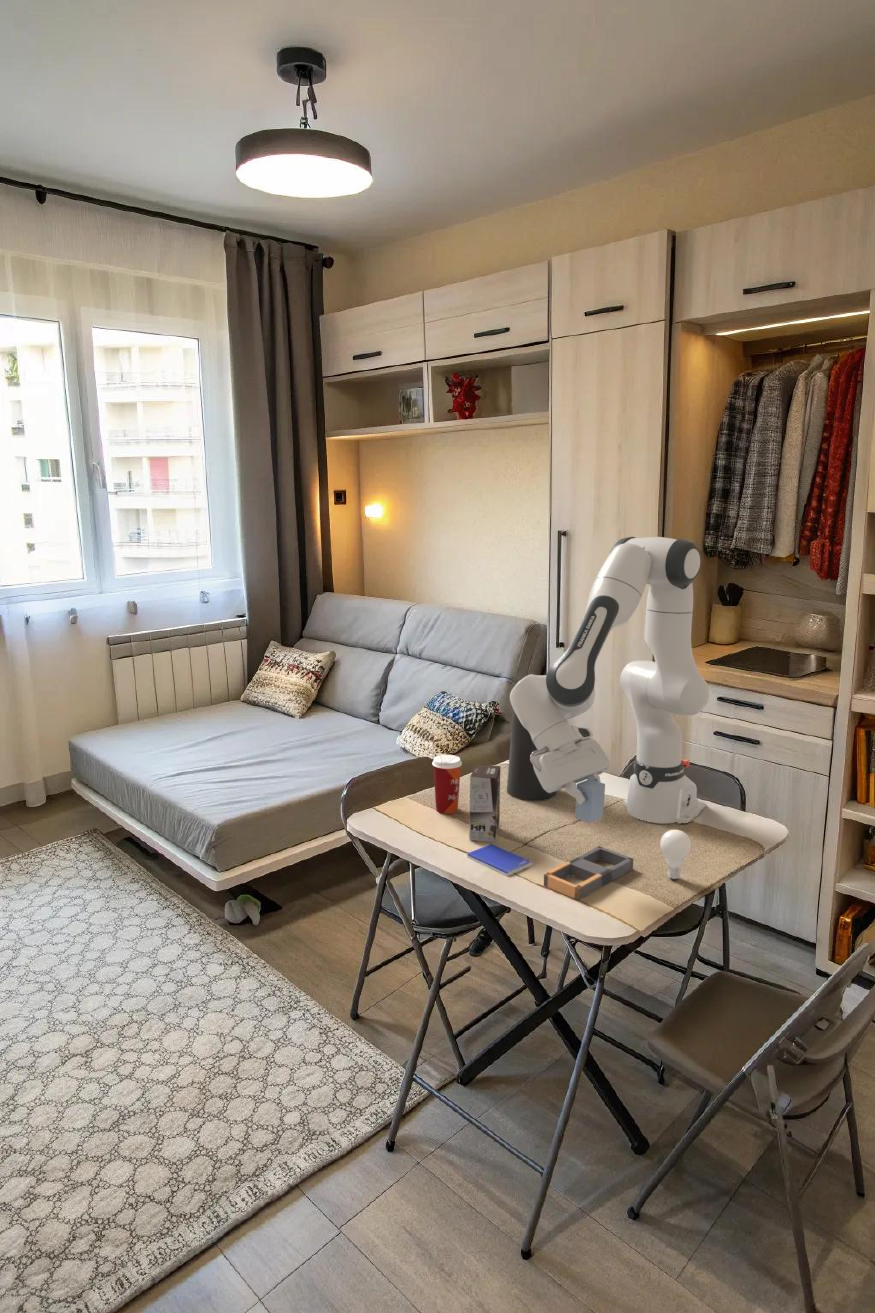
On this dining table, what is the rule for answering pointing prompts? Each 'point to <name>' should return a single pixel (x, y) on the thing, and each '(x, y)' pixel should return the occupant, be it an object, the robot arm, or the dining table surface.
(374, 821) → the dining table surface
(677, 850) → the lightbulb
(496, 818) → the coffee box
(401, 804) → the dining table surface
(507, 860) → the hard drive
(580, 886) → the grey orange rectangular frame
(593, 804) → the plug
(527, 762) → the vase
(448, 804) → the paper cup
